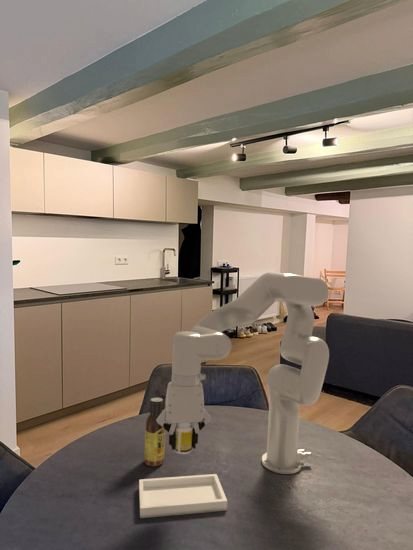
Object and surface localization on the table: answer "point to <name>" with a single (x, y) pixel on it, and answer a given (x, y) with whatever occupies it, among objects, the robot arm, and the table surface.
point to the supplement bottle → (183, 438)
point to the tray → (181, 495)
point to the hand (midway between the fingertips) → (183, 446)
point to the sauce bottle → (154, 435)
